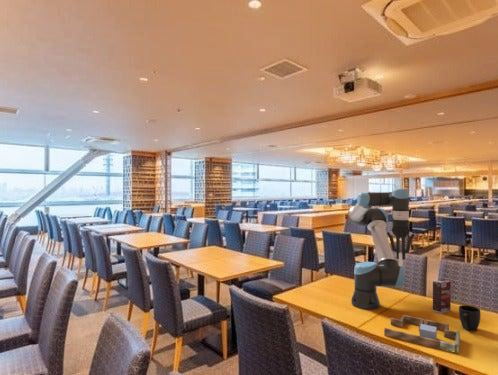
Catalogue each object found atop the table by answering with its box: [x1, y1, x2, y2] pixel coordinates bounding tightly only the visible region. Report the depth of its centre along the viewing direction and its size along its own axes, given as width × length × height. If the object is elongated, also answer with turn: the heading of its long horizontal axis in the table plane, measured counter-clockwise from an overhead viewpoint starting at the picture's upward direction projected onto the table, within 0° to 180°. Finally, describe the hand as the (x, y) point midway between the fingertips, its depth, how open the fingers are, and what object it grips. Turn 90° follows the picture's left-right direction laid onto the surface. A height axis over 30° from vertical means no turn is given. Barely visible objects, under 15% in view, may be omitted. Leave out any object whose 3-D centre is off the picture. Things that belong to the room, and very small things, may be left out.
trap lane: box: [383, 314, 461, 354], centre depth 144 cm, size 28×21×4 cm
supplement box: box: [432, 279, 452, 314], centre depth 170 cm, size 9×5×16 cm, turn 116°
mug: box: [458, 304, 481, 332], centre depth 148 cm, size 8×12×10 cm
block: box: [419, 324, 438, 340], centre depth 140 cm, size 6×6×5 cm
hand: (401, 265), depth 162 cm, fingers closed
